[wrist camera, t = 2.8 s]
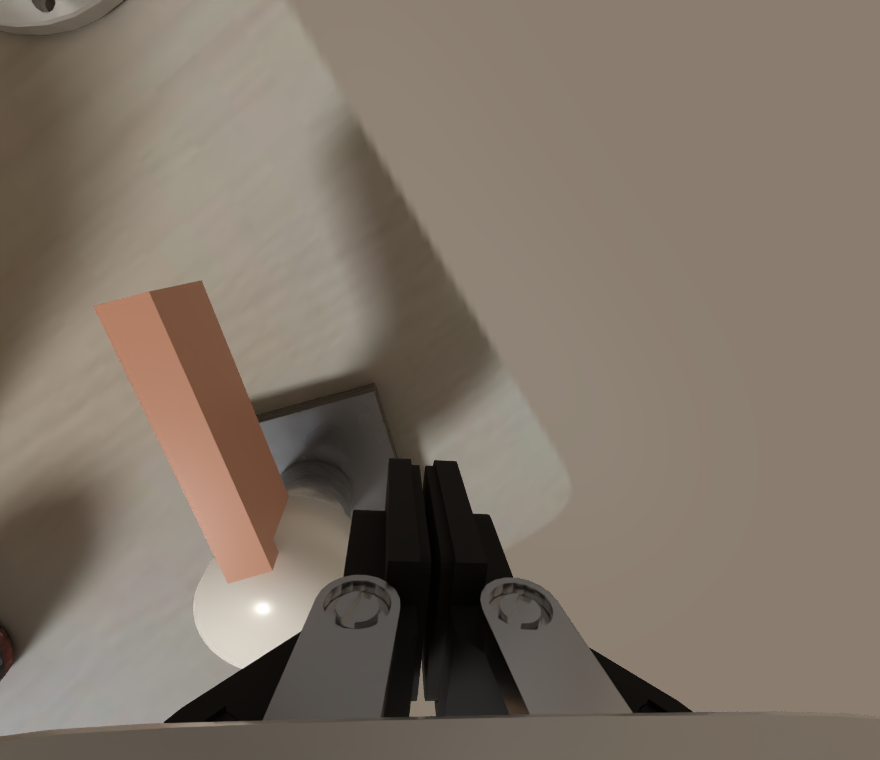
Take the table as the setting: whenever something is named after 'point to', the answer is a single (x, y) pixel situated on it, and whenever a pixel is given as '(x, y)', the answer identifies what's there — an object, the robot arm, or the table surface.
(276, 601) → the orange bar with ball
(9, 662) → the supplement bottle
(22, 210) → the table surface
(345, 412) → the coupling base
